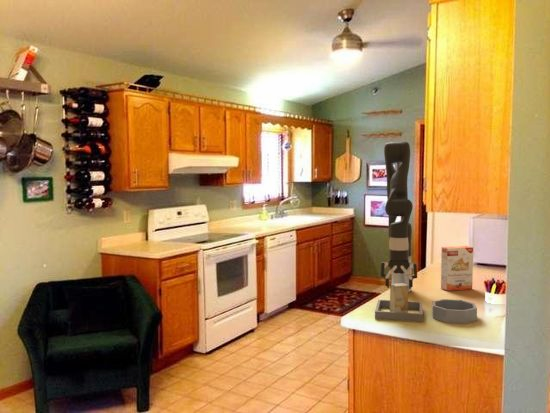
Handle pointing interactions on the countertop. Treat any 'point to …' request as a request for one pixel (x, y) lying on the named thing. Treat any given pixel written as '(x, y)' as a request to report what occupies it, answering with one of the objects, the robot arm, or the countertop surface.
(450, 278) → the cracker box
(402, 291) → the skincare box
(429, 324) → the countertop surface
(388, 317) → the parts tray
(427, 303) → the countertop surface
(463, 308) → the ceramic bowl
